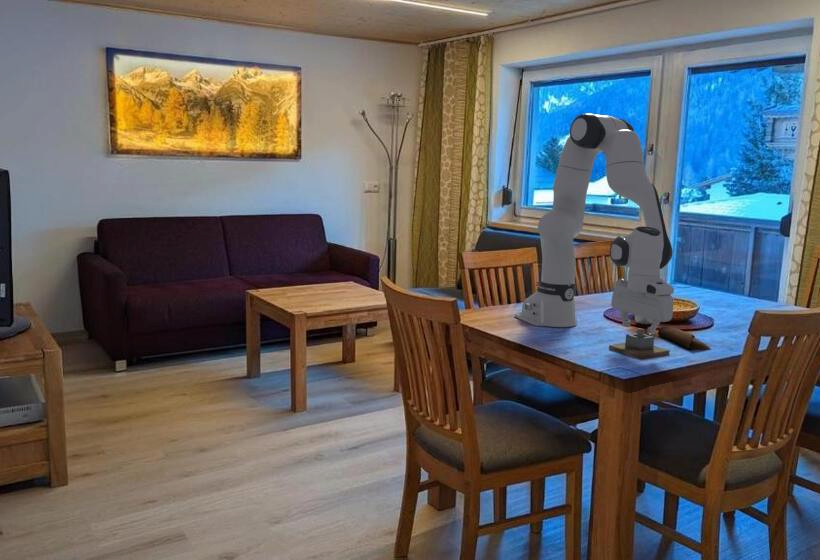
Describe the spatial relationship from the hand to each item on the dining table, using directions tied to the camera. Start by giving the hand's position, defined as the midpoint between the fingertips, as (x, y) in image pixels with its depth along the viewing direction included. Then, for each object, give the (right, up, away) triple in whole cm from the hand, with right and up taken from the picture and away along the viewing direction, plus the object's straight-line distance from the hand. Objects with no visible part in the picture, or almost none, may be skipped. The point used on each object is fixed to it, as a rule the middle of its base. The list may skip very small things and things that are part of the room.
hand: (638, 330), depth 210 cm
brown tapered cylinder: (+18, -6, +13) cm, 23 cm away
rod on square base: (0, -6, +1) cm, 7 cm away
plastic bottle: (+14, -1, +38) cm, 40 cm away
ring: (0, -5, +1) cm, 5 cm away
